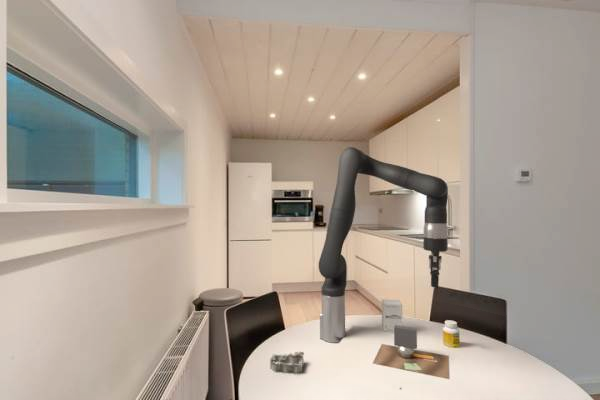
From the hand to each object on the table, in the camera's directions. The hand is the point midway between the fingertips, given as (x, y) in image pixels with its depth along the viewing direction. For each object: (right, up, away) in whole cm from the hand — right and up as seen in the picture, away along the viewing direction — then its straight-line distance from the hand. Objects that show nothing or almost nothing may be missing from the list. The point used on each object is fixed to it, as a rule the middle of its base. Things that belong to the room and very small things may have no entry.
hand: (434, 284), depth 104 cm
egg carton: (-50, -26, -6) cm, 56 cm away
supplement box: (-8, -26, +23) cm, 36 cm away
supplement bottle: (+9, -26, +7) cm, 28 cm away
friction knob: (-8, -23, -2) cm, 25 cm away
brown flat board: (-9, -25, -4) cm, 27 cm away
